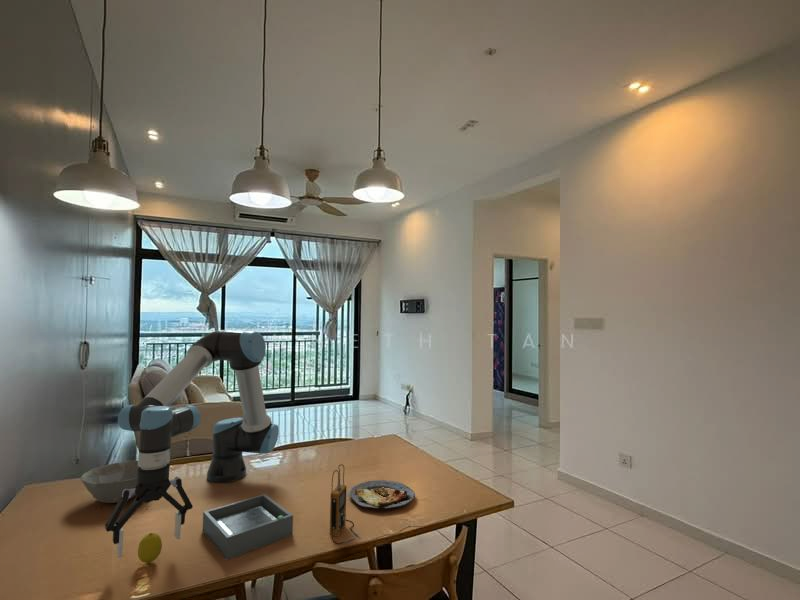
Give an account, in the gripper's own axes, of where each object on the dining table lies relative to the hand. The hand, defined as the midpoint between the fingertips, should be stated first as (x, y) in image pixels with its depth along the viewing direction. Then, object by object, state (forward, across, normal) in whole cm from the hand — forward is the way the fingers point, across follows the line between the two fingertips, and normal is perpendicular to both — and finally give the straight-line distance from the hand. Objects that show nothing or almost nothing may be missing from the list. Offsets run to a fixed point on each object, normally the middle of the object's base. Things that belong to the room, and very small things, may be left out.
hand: (149, 545), depth 110 cm
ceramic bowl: (+5, +1, +51) cm, 51 cm away
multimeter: (+5, +50, -22) cm, 55 cm away
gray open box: (+4, +26, -2) cm, 27 cm away
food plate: (+5, +74, -10) cm, 75 cm away
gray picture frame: (+1, +26, -2) cm, 26 cm away
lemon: (+5, 0, 0) cm, 5 cm away
